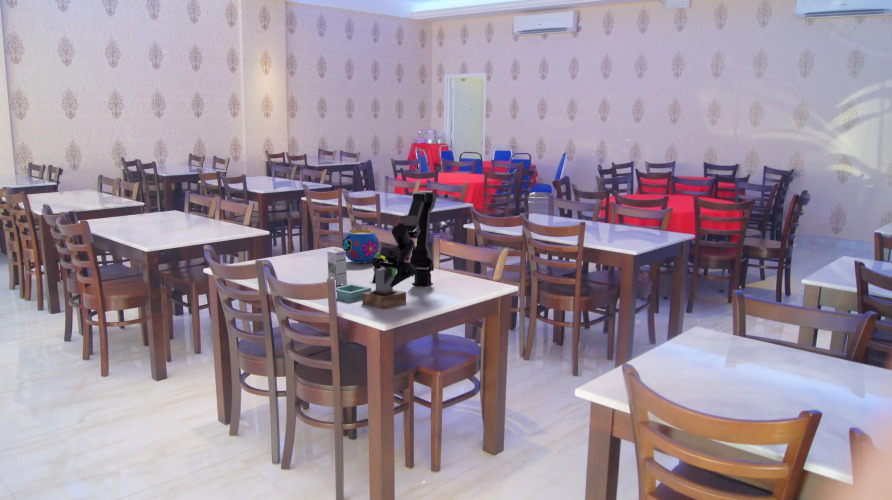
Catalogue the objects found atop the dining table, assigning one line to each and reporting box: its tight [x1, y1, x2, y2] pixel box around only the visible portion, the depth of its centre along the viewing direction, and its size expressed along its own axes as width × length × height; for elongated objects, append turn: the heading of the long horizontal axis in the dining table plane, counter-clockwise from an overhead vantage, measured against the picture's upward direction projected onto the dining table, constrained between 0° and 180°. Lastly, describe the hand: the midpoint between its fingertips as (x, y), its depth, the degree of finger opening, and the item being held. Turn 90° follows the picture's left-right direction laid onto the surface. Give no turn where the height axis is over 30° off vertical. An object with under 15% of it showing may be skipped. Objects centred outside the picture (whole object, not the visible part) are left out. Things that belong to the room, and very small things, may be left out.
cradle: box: [335, 283, 372, 303], centre depth 267 cm, size 13×13×3 cm
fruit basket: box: [372, 252, 397, 278], centre depth 299 cm, size 11×9×11 cm
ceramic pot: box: [341, 229, 381, 264], centre depth 333 cm, size 18×18×15 cm
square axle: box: [375, 268, 394, 296], centre depth 256 cm, size 4×4×13 cm
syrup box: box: [326, 248, 348, 286], centre depth 287 cm, size 6×6×14 cm
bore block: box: [362, 289, 407, 310], centre depth 257 cm, size 12×12×4 cm
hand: (382, 284), depth 255 cm, fingers open, 9 cm apart
